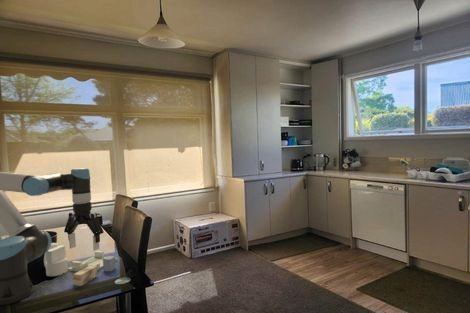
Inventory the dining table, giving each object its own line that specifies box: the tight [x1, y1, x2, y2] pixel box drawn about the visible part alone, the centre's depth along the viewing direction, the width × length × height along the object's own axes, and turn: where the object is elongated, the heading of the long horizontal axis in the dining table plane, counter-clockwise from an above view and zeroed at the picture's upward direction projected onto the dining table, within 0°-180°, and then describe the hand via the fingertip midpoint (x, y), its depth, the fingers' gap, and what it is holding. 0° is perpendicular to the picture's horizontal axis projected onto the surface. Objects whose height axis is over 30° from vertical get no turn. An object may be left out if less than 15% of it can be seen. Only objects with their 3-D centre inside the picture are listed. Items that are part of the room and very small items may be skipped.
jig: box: [67, 250, 118, 273], centre depth 155 cm, size 18×15×4 cm
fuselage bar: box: [72, 266, 98, 287], centre depth 136 cm, size 10×4×5 cm, turn 163°
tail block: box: [102, 255, 117, 272], centre depth 148 cm, size 4×4×6 cm
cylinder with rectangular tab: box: [45, 244, 68, 277], centre depth 147 cm, size 9×9×12 cm
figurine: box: [43, 242, 60, 269], centre depth 156 cm, size 7×8×12 cm
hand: (84, 248), depth 136 cm, fingers open, 13 cm apart
